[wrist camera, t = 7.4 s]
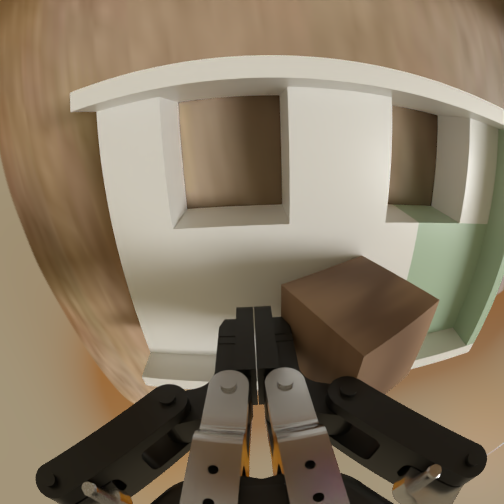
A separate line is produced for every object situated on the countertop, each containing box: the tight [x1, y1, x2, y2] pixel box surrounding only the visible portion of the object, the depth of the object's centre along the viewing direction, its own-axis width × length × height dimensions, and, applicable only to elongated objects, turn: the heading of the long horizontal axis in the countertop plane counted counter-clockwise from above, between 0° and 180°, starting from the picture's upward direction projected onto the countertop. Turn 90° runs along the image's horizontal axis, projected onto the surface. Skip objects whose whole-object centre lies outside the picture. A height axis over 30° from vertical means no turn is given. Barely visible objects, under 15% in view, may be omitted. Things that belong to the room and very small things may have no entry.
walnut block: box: [281, 256, 439, 394], centre depth 10 cm, size 4×4×4 cm
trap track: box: [70, 55, 504, 390], centre depth 12 cm, size 21×15×5 cm
